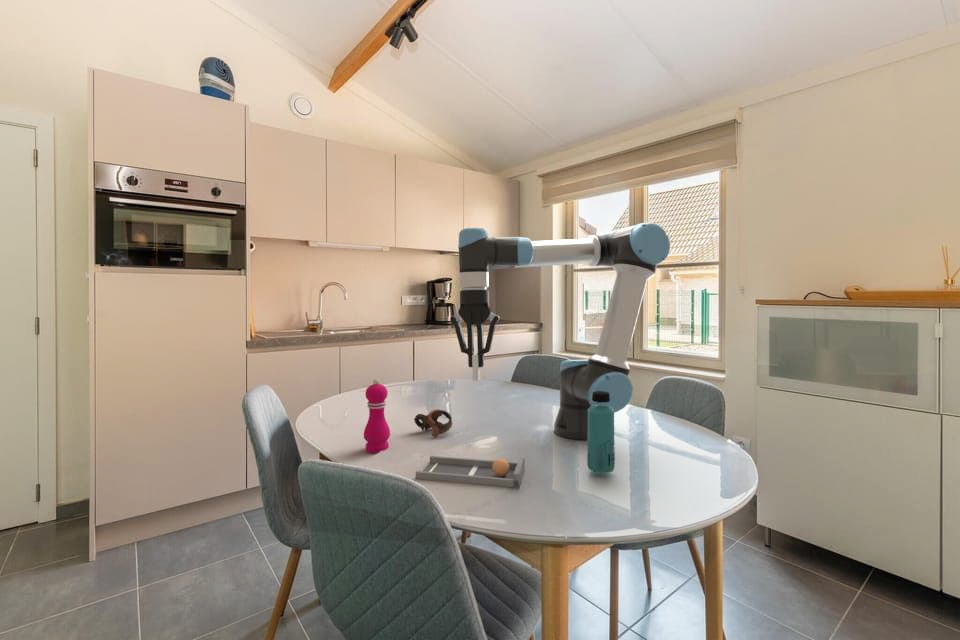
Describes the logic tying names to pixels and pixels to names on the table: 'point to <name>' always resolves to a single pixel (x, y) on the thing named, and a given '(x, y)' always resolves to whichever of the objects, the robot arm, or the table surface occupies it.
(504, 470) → the ball
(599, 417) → the beverage bottle
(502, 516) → the table surface
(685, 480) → the table surface
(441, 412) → the brown pretzel knot
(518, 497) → the table surface
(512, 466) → the lane
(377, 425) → the pepper mill
